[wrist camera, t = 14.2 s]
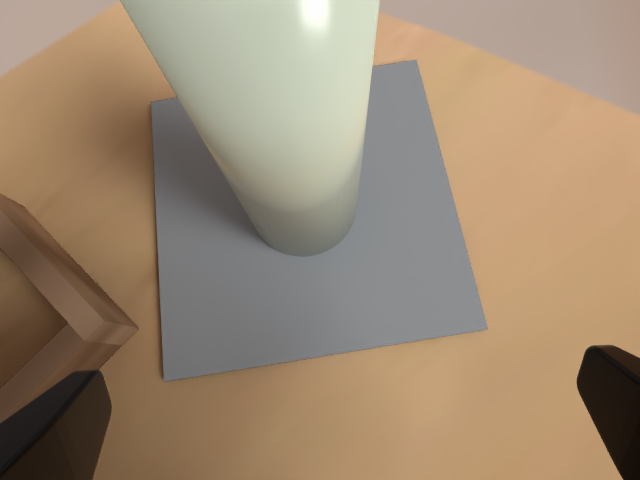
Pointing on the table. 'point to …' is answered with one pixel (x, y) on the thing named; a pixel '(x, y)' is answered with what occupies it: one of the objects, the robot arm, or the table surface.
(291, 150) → the green bottle
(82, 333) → the brown square open box
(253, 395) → the table surface
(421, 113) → the mat
